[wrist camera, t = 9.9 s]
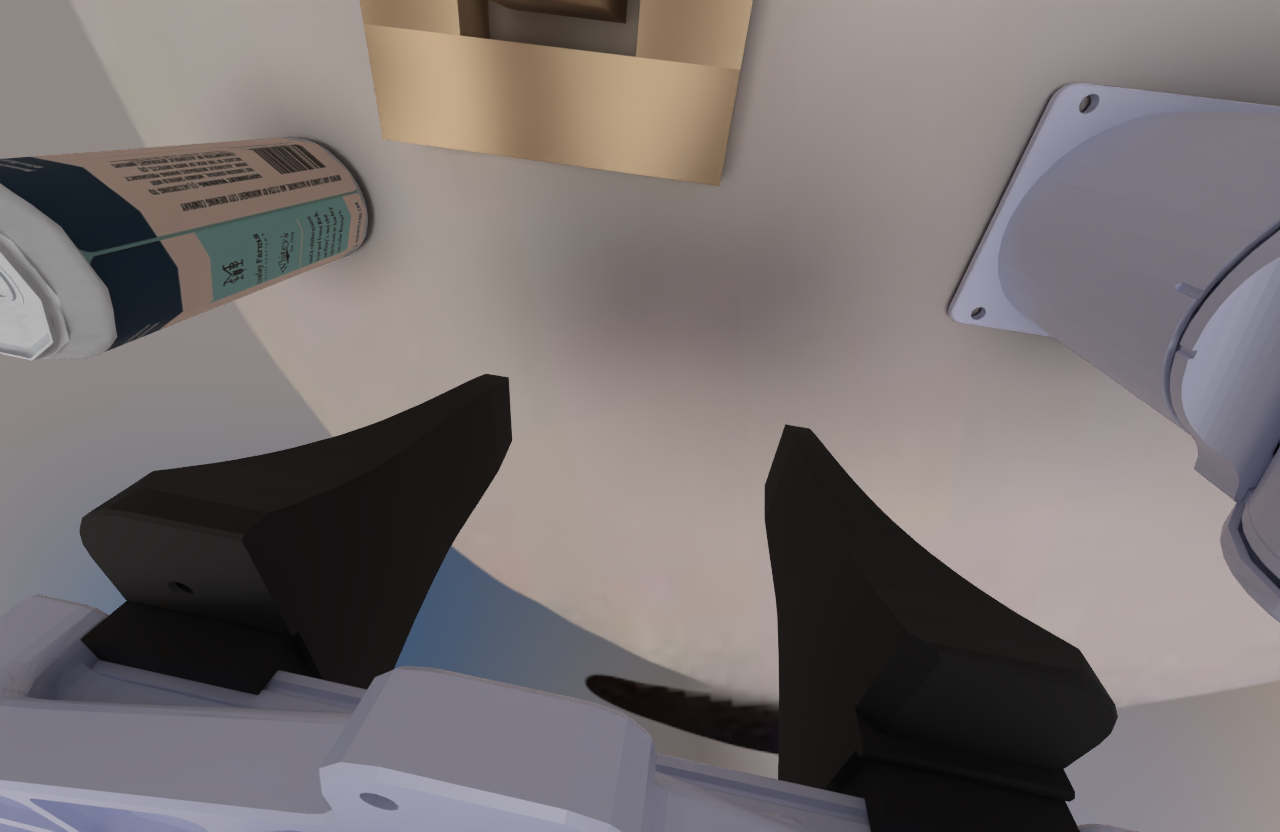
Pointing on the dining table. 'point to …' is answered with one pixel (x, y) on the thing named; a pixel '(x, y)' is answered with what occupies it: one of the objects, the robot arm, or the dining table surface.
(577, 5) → the walnut peg
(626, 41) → the oak socket block
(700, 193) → the dining table surface
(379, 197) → the dining table surface
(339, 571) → the robot arm
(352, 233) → the beer can
